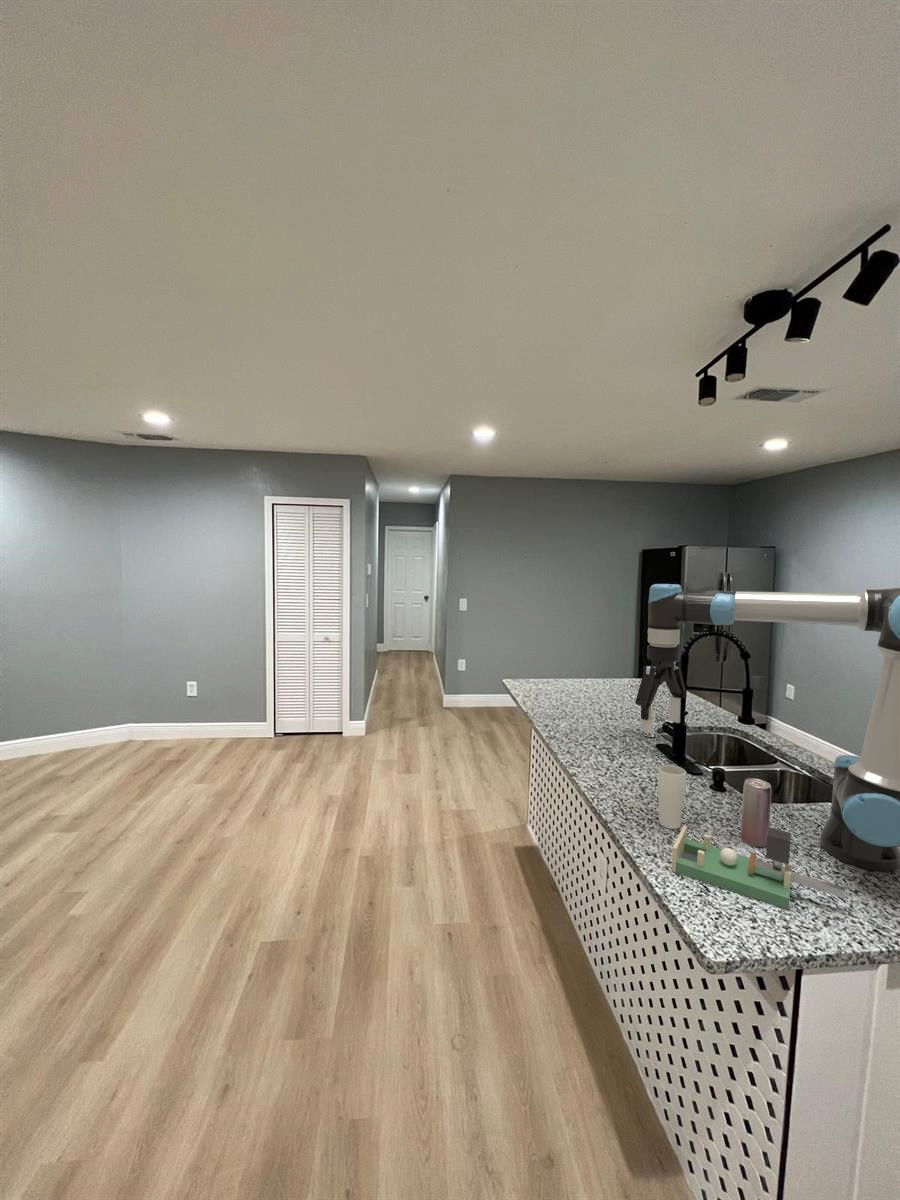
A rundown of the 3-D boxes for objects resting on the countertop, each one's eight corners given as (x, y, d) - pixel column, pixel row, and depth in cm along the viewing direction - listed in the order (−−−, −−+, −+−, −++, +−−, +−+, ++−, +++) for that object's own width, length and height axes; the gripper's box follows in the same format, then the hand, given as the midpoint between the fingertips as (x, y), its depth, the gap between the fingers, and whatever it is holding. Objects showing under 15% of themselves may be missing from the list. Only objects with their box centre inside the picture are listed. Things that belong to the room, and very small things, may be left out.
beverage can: (743, 832, 134) (746, 775, 132) (769, 840, 130) (773, 782, 129) (738, 842, 129) (741, 783, 128) (765, 850, 125) (769, 790, 124)
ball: (738, 863, 116) (739, 848, 115) (736, 871, 113) (737, 855, 113) (720, 858, 118) (721, 843, 117) (718, 865, 115) (719, 850, 115)
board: (790, 880, 114) (792, 855, 113) (788, 909, 104) (790, 883, 104) (682, 847, 126) (683, 825, 126) (671, 871, 116) (672, 847, 116)
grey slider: (843, 891, 105) (847, 847, 105) (845, 902, 102) (848, 857, 101) (750, 863, 115) (752, 822, 114) (748, 873, 111) (750, 831, 110)
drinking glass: (667, 833, 133) (669, 776, 132) (650, 820, 139) (652, 765, 138) (689, 829, 135) (692, 773, 133) (671, 817, 141) (674, 763, 140)
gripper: (674, 638, 143) (671, 714, 145) (621, 647, 128) (619, 732, 129) (701, 642, 137) (698, 720, 139) (650, 651, 122) (647, 740, 123)
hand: (660, 726), depth 134 cm, fingers open, 13 cm apart
